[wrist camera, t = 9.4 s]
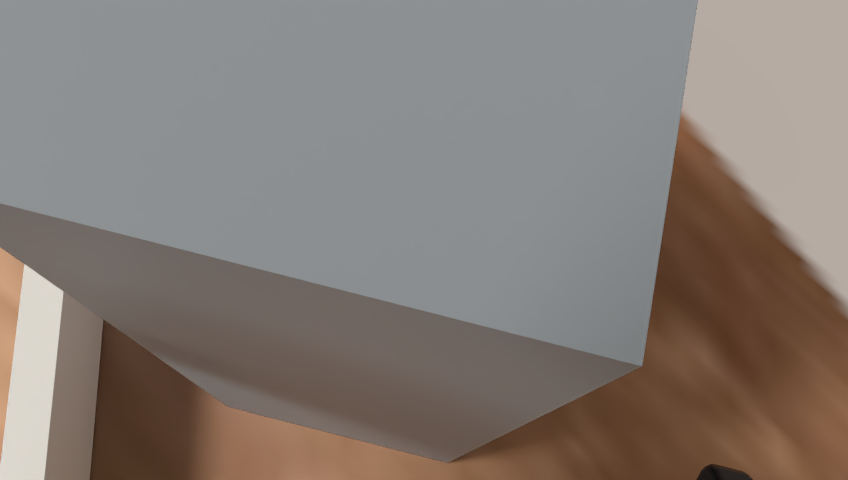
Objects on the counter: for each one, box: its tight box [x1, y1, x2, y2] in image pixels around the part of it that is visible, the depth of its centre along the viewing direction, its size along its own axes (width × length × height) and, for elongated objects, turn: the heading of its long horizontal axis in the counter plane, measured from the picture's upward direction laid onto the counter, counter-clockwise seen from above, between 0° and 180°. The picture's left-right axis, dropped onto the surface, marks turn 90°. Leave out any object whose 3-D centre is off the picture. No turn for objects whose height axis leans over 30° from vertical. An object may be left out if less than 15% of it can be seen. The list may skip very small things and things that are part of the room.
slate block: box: [0, 0, 698, 463], centre depth 12 cm, size 5×5×13 cm
